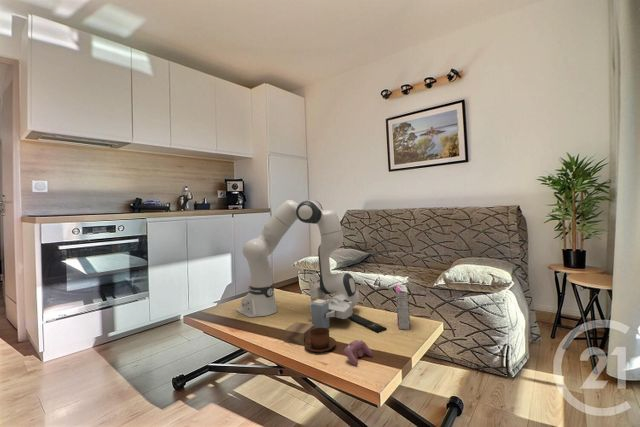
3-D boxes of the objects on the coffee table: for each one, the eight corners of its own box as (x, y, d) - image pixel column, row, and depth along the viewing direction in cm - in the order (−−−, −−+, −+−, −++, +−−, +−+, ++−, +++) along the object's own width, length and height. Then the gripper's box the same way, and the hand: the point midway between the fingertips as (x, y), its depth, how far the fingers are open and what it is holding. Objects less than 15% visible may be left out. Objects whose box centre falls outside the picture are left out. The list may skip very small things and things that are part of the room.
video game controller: (365, 357, 111) (358, 337, 113) (374, 355, 108) (366, 335, 110) (347, 368, 104) (340, 347, 106) (356, 366, 101) (348, 345, 103)
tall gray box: (312, 328, 135) (310, 301, 135) (319, 324, 139) (318, 298, 139) (322, 331, 132) (320, 304, 131) (329, 326, 136) (328, 300, 136)
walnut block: (284, 342, 124) (284, 330, 124) (296, 333, 132) (295, 321, 132) (304, 346, 120) (303, 333, 119) (315, 336, 128) (314, 324, 127)
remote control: (377, 334, 127) (377, 331, 127) (343, 317, 148) (343, 315, 148) (386, 331, 130) (386, 328, 130) (352, 315, 151) (351, 312, 151)
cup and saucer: (322, 358, 109) (321, 341, 109) (298, 349, 117) (297, 333, 117) (342, 345, 118) (341, 329, 118) (318, 337, 126) (317, 323, 126)
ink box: (320, 311, 155) (315, 282, 156) (312, 311, 158) (307, 282, 158) (328, 306, 162) (324, 278, 163) (320, 306, 165) (316, 278, 166)
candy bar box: (396, 319, 141) (395, 284, 140) (408, 320, 140) (406, 284, 139) (398, 329, 130) (396, 291, 129) (410, 330, 129) (408, 291, 128)
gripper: (319, 295, 152) (300, 303, 141) (354, 302, 139) (337, 311, 128) (319, 308, 152) (301, 317, 141) (355, 316, 140) (338, 326, 129)
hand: (319, 314), depth 135 cm, fingers closed on tall gray box, 5 cm apart
